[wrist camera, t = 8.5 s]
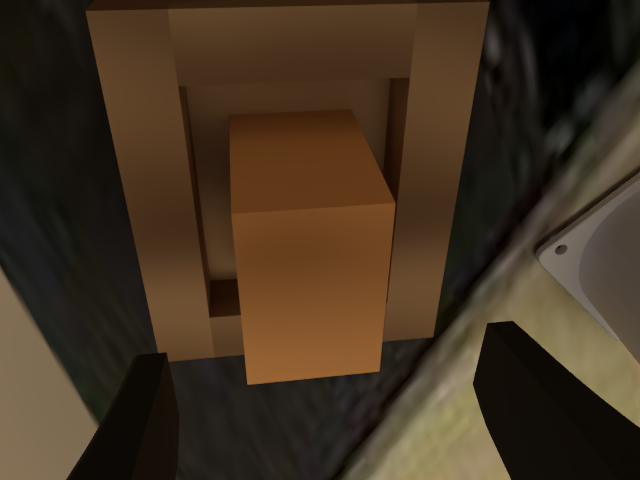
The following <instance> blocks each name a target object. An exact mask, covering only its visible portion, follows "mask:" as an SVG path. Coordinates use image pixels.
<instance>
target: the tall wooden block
mask: <svg viewBox="0 0 640 480" xmlns="http://www.w3.org/2000/svg"><path fill="white" fill-rule="evenodd" d="M229 138H230V184H231V218H232V228H233V238H234V249H235V259H236V269H237V280H238V290H239V301H240V311H241V321H242V332H243V342H244V353H245V363H246V373H247V384H248V385H250V384H260V383H270V382H279V381H289V380H299V379H309V378H319V377H329V376H339V375H348V374H358V373H368V372H378V371H379V370H380V359H381V349H382V339H383V328H384V318H385V308H386V297H387V287H388V277H389V266H390V256H391V245H392V235H393V225H394V214H395V204H396V203H395V201H394V199H393V196H392V194H391V192H390V190H389V188H388V186H387V184H386V182H385V180H384V177H383V175H382V173H381V171H380V169H379V167H378V165H377V163H376V160H375V158H374V156H373V154H372V152H371V150H370V148H369V146H368V143H367V141H366V139H365V137H364V135H363V133H362V131H361V129H360V126H359V124H358V122H357V120H356V118H355V116H354V114H353V112H352V110H351V109H343V110H321V111H300V112H279V113H257V114H236V115H229Z"/></svg>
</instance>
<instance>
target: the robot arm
mask: <svg viewBox="0 0 640 480" xmlns="http://www.w3.org/2000/svg"><path fill="white" fill-rule="evenodd" d="M560 245H562V246H561V247H560V248H558V249H556V248H557V247H558V246H560ZM536 259H537V260H538V262H539V263H540V264H541V265H542V266H543V267H544V268H545V269H546V270H547V271H548V272H549V273H550V274H551V275H552V276H553V277H554V278H555V279H556V280H557V281H558V282H559V283H560V284H561V285H562V286H563V287H564V288H565V289H566V291H567V292H568V293H569V294H570V295H571V296H572V297H573V298H574V299H575V300H576V301H577V302H578V303H579V304H580V305H581V306H582V307H583V308H584V309H585V310H586V311H587V312H588V313H589V314H590V315H591V316H592V317H593V318H594V319H595V320H596V321H597V322H598V323H599V324H600V325H601V326H602V327H603V328H604V329H605V330H606V331H607V332H608V333H609V334H610V335H611V336H612V337H613V338H614V339H615V340H617V341H622V343H623V344H624V345H625V347H626V348H627V349H628V350H629V352H630V353H631V354H632V355H633V357H634V358H635V359H636V360H637V362H638V363H639V364H640V172H639V173H638V174H636V175H635V176H634V177H632V178H631V179H630V180H628V181H627V182H626V183H624V184H623V185H622V186H620V187H619V188H618V189H616V190H615V191H614V192H612V193H611V194H610V195H608V196H607V197H606V198H604V199H603V200H602V201H600V202H599V203H598V204H596V205H595V206H594V207H592V208H591V209H590V210H588V211H587V212H586V213H584V214H583V215H582V216H580V217H579V218H578V219H576V220H575V221H574V222H572V223H571V224H570V225H569V226H567V227H566V228H565V229H563V230H562V231H561V232H559V233H558V234H557V235H555V236H554V237H553V238H551V239H550V240H549V241H547V242H546V243H545V244H543V245H542V246H541V247H540V248H539V249H538V250H537V252H536ZM473 386H474V389H475V393H476V396H477V399H478V402H479V406H480V409H481V412H482V415H483V418H484V420H485V423H486V426H487V428H488V431H489V433H490V435H491V437H492V439H493V442H494V444H495V446H496V448H497V450H498V452H499V454H500V457H501V459H502V461H503V463H504V465H505V467H506V469H507V471H508V474H509V476H510V478H511V480H640V428H639V427H638V426H637V425H635V424H634V423H633V422H631V421H630V420H629V419H627V418H626V417H625V416H623V415H622V414H621V413H620V412H618V411H617V410H616V409H614V408H613V407H612V406H610V405H609V404H608V403H607V402H605V401H604V400H603V399H602V398H600V397H599V396H598V395H597V394H596V393H594V392H593V391H592V390H591V389H589V388H588V387H587V386H586V385H585V384H583V383H582V382H581V381H580V380H579V379H578V378H576V377H575V376H574V375H573V374H572V373H571V372H569V371H568V370H567V369H566V368H565V367H564V366H563V365H561V364H560V363H559V362H558V361H557V360H556V359H555V358H554V357H553V356H551V355H550V354H549V353H548V352H547V351H546V350H545V349H544V348H542V347H541V346H540V345H539V344H538V343H537V342H536V341H535V340H534V339H533V338H531V337H530V336H529V335H528V334H527V333H526V332H525V331H524V330H522V329H521V328H520V327H519V326H518V325H517V324H516V323H515V322H513V321H506V322H495V323H487V327H486V331H485V335H484V339H483V343H482V347H481V352H480V356H479V360H478V364H477V368H476V372H475V377H474V381H473ZM178 440H179V411H178V406H177V401H176V396H175V391H174V386H173V381H172V376H171V372H170V367H169V362H168V357H167V352H164V353H153V354H142V355H137V356H136V357H135V358H134V359H133V361H132V363H131V365H130V368H129V370H128V372H127V374H126V376H125V378H124V380H123V383H122V385H121V387H120V389H119V391H118V393H117V395H116V396H115V398H114V400H113V402H112V404H111V406H110V408H109V410H108V412H107V413H106V415H105V417H104V419H103V420H102V422H101V424H100V426H99V427H98V429H97V431H96V433H95V434H94V436H93V438H92V440H91V442H90V443H89V445H88V446H87V448H86V450H85V451H84V453H83V454H82V456H81V457H80V459H79V461H78V462H77V464H76V465H75V467H74V468H73V470H72V471H71V473H70V475H69V476H68V478H67V479H66V480H175V478H176V470H177V462H178Z"/></svg>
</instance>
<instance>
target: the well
mask: <svg viewBox="0 0 640 480" xmlns="http://www.w3.org/2000/svg"><path fill="white" fill-rule="evenodd" d="M489 3H490V2H489V1H487V0H94V1H93V2H92V3H91V5H90V6H89V7H88V8H87V10H86V11H85V12H86V16H87V21H88V26H89V30H90V35H91V40H92V44H93V49H94V54H95V58H96V63H97V68H98V72H99V77H100V82H101V87H102V91H103V96H104V101H105V105H106V110H107V115H108V119H109V124H110V129H111V133H112V138H113V143H114V147H115V152H116V157H117V161H118V166H119V171H120V175H121V180H122V185H123V189H124V194H125V199H126V204H127V208H128V213H129V218H130V222H131V227H132V232H133V236H134V241H135V246H136V250H137V255H138V260H139V264H140V269H141V274H142V278H143V283H144V288H145V292H146V297H147V302H148V306H149V311H150V316H151V321H152V325H153V330H154V335H155V339H156V344H157V349H158V353H164V352H167V357H168V362H170V361H180V360H191V359H202V358H212V357H223V356H234V355H245V353H244V342H243V332H242V321H241V311H240V301H239V290H238V280H237V269H236V259H235V249H234V238H233V228H232V218H231V184H230V138H229V115H236V114H257V113H279V112H300V111H321V110H343V109H351V110H352V112H353V114H354V116H355V118H356V120H357V122H358V124H359V126H360V129H361V131H362V133H363V135H364V137H365V139H366V141H367V143H368V146H369V148H370V150H371V152H372V154H373V156H374V158H375V160H376V163H377V165H378V167H379V169H380V171H381V173H382V175H383V177H384V180H385V182H386V184H387V186H388V188H389V190H390V192H391V194H392V196H393V199H394V201H395V203H396V204H395V214H394V225H393V235H392V245H391V256H390V266H389V277H388V287H387V297H386V308H385V318H384V328H383V339H382V342H384V341H395V340H405V339H416V338H427V337H433V334H434V328H435V322H436V316H437V310H438V304H439V298H440V292H441V286H442V280H443V275H444V269H445V263H446V257H447V251H448V245H449V239H450V233H451V227H452V222H453V216H454V210H455V204H456V198H457V192H458V186H459V180H460V174H461V168H462V163H463V157H464V151H465V145H466V139H467V133H468V127H469V121H470V115H471V110H472V104H473V98H474V92H475V86H476V80H477V74H478V68H479V62H480V56H481V51H482V45H483V39H484V33H485V27H486V21H487V15H488V9H489Z"/></svg>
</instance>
